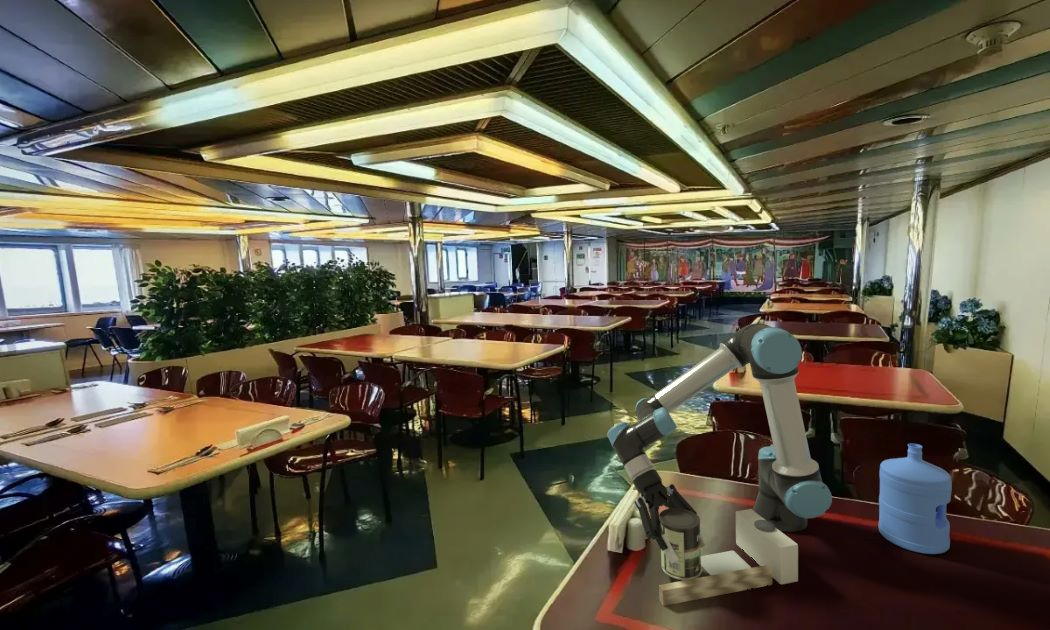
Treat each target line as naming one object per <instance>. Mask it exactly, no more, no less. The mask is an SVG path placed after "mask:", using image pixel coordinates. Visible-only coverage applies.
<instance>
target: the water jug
mask: <svg viewBox="0 0 1050 630" xmlns="http://www.w3.org/2000/svg"><path fill="white" fill-rule="evenodd" d="M907 447H908V449H907V456H905V457H897V458H889V459H884V460H883V461H881V463H880V465H879V472H878V473H879V496H878V505H879V510H878V513H879V515H878V517H879V520H878V531H879V533H880V534H881V535H882V537H884V539H886V540H887V541H889V542H890V543H892V544H894V545H896V546H897V547H900V548H903V549H904V550H905V549H906V550H908V551H911V552H915V553H919V554H926V555H938V554H943V553H946V552H947V551H948V550H949V549H950V546H951V539H950V529H951V528H950V527H951V526H950V525H951V523H950V521H949V520H948V519H947V504H949V503H950V502H951V498H952V497H951V496H952V491H953V490H952V489H953V488H952V487H953V483H952V476H951V474H950V473H948V472H947V471H946V470H945V469H943V468H942V467H939V466H937V465H934V464H933V463H930V462H928V461H925V460H923V451H922V450H923V446H922V445H921V444H918V443H911V442H910V443H908V444H907Z"/></svg>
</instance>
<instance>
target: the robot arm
mask: <svg viewBox="0 0 1050 630" xmlns="http://www.w3.org/2000/svg"><path fill="white" fill-rule="evenodd" d="M802 354H803V353H802V346H801V344H800V342H799V340H798V338H796V337H795V336H794V335H793V334H792V333H790V332H788V331H787V330H785V329H783V328H779V327H776V326H775V327H774V326H771V325H768V324H765V323H760V322H759V323H757V322H755V323H750V324H748V325H745V326H743V327H741V328H740V329H739V330H737V331H735V332H734V333H733V334H731V335H729V336H728V337H727V338H725V339H724V340H723V341H721V342H720V343H719V347H718V349H716V350H714V351H713V352H712V353H710V354H709V355H708V356H706V357H705V358H704V359H702V360H701V361H700V362H698V363H696V364H695V365H694V366H692V367H691V368H689V369H688V370H686V371H685V372H684V373H682V374H681V375H680V376H678V377H677V378H675V379H674V380H672V381H671V382H670V383H668V384H666V386H664V387H663V388H661V389H660V390H659V391H657V392H656V393H654V394H653V395H652V396H650V397H644V398H641V399H639V400H638V401H637V402H636V405H635V409H634V410H635V416H636V418H637V422H635V423H633V424H629V423H628V422H626V421H622V422H621V421H620V422H619V423H618V424H615V425H613V426H611V427H610V428H609V429H608V431H607V434H606V435H607V438H608V441H609V442H610V444H611V447H612V448H613V450H614V452H615V454H616V455H617V457H618V458H619V460H620V462H621V464H622V466H623V468H624V469H625V471H626V473H627V474H628V476H629V478H630V479H631V480H633V481H632V484H633V485H634V488H635V489H636V490H637V492H638V493H639V494H640V496H641V497H640V496H639V497H638V498H637V499H635V500H634V504H635V506H636V508H637V510H638V513H639V516H640V519H641V523H642V526H643V530H644V532H645V536H646V538H647V539H652V540H655V542H656V543H657V545H658V546H659V548H660V551H661V550H662V551H665V553H666V555H667V557H668V559H669V560H670V562H671V564H672V563H674V562H676V561H678V560H679V558H678V557H677V555H676V553H675V551H674V550H673V548H672V546H671V544H670V543H669V541H668V539H667V537H666V536H665V534H663V535H662V536H661V527H660V520H659V514H660V513H659V512H660V507H665V508H667V509H669V508H682V509H686V510H689V511H692V512H694V513H695V514H697V515H698V513H697V511H696V510H695V509H694V508H693V507H692V505H690V503H689V502H688V501H687V499H685V498H684V497H683V496H682V494H681V493H680V492H679V491H678V490H677V488H676V486H675V484H674V483H671V484H669V486H665V485H664V483H663V482H662V477H661V476H660V474H659V473H658V471H657V469H655V468H654V464H653V462H652V461H651V460H650V458H649V456H648V454H647V453H646V451H645V449H646V448H648V447H650V446H651V445H653V444H655V443H657V442H658V441H660V440H661V439H663V438H665V437H668V436H669V435H670V434H672V432H675V431H676V430H677V428H678V426H677V424H676V422H675V421H674V419H673V417H672V415H670V414H671V413H672V412H674V411H675V410H677V409H678V408H679V407H681V406H682V405H684V404H686V403H687V402H688V401H690V400H691V399H693V398H694V397H696V396H697V395H698V394H699V393H701V392H703V391H704V390H706V389H707V388H708V387H710V386H712V385H714V383H716V382H717V381H719V380H720V379H721V378H723V377H725V376H726V375H727V374H729V373H731V372H732V371H733V370H734V369H736V368H737V369H743V367H746V366H747V365H749V366H750V370H751V374H752V378H753V379H754V380H756V381H758V382H759V384H760V389H761V392H762V393H761V394H762V399H763V403H764V408H765V412H766V413H765V414H766V416H767V421H768V422H767V423H768V426H769V431H770V435H771V439H772V440H771V441H772V445H770V446H764V447H761V448H760V449H759V451H758V456H757V459H758V460H757V461H758V465H757V466H758V494H757V495H756V499H755V502H754V504H753V506H752V510H753V511H754V512H756V513H757V514H758V515H760V516H761V517H762V518H764V519H765V520H766V521H769V522H771V523H773V524H774V525H775V528H777V529H778V530H779V531H781V532H790V533H795V532H800V531H803V530H805V529H806V528H807V527H808V519H814V518H818V517H820V516H822V515H823V514H825V513H826V511H827V510H829V509H830V507H831V505H832V502H833V497H832V492H831V491H830V489H829V487H828V486H827V484H825V483H824V482H823V480H822V475H821V471H820V467H819V462H817V460H814V459H812V458H811V454H810V450H809V443H808V438H807V435H806V429H805V425H804V420H803V415H802V410H801V405H800V400H799V396H798V395H799V394H798V392H797V387H796V382H795V378H796V377H797V375H798V374H799V373H800V371H799V370H800V369H799V363H800V362H801V359H802V356H803V355H802ZM707 545H708V544H707V542H706V540H705V539H704V537H703V535H702V533H701V532H700V549H702V548H704V547H706V546H707Z"/></svg>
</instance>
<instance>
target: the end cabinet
mask: <svg viewBox="0 0 1050 630" xmlns="http://www.w3.org/2000/svg"><path fill="white" fill-rule="evenodd" d="M735 544H736V545H737V546H738V547H739V548H740V549H741V550H742V549H743V550H744V551H743V550H742V551H743V552H745V553H746V554H747V555H748V556H749V558H751V557H752V558H753V559H754V560H755V561H756V563H757V564H758V565H759V566H764V565H767V566H768V567H770V568H771V569H772V579H774V580H775V581H776V582H777V583H778V584H780V585H786V584H791V583H792V584H793V583H795V582H796V583H797V582H799V545H798V543H797V542H795V541H794V540H793V539H792V538H790V537H789V536H787V535H786V534H785V533H783V531H779V530H778V529H777V528H775V525H774V524H773V523H771V522H769V521H766V520H765V519H764V518H762V517H761V516H760V515H758V514H757V513H756V512H754V511H753V508H749V509H743V510H736V511H735ZM752 558H751V559H752ZM753 559H752V560H753ZM754 560H753V561H754ZM755 561H754V562H755ZM701 568H703V569H704V571H705V572H707V574H708V576H711V575H716V574H722V573H727V572H732V571H738V570H743V569H748V568H752V567H751V566H750V565H749V564H748V563H747V562H746V561H745V560H744V559H743V558H742V557H741V556H740V555H739V554H738V553H737V552H736V551H734V550H729V551H723V552H717V553H712V554H706V555H701Z"/></svg>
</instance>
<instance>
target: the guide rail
mask: <svg viewBox="0 0 1050 630" xmlns="http://www.w3.org/2000/svg"><path fill="white" fill-rule="evenodd" d="M767 585H768V586H772V585H773V577H772V569H771V568H770V567H768V566H767V565H764V566H760V565H759V566H754V567H751V568H748V569H743V570H738V571H732V572H727V573H722V574H716V575H711V576H710V575H706V576H701V577H700V576H699V577H698V578H695V579H689V580H679V581H674V582H668V583H664V584H659V585H658V593H659V594H658V595H659V596H658V597H659V598H658V599H659V602H660V603H661V605H662V606H663V607H665V606H669V605H675V604H679V603H680V604H681V603H685V602H690V601H696V600H700V599H706V598H712V597H717V596H721V595H726V594H731V593H738V592H742V591H748V590H752V589H751V588H753V589H757V588H761V587H766V586H767ZM747 589H748V590H747Z"/></svg>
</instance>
